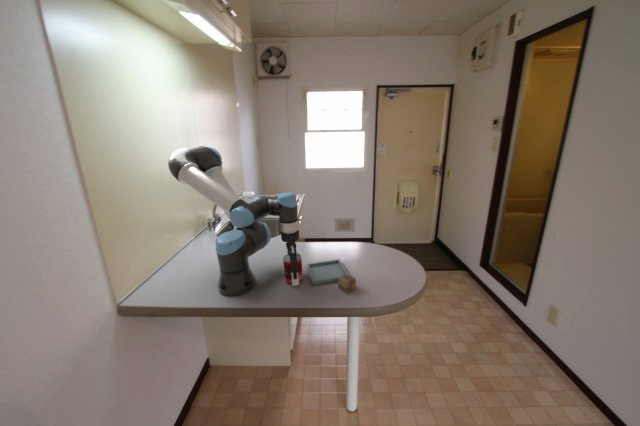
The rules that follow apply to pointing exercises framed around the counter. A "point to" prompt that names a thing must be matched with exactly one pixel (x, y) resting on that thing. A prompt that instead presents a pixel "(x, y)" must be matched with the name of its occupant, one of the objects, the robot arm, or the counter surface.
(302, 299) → the counter surface
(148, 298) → the counter surface
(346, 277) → the walnut block
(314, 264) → the tray
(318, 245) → the counter surface
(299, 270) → the canned food
